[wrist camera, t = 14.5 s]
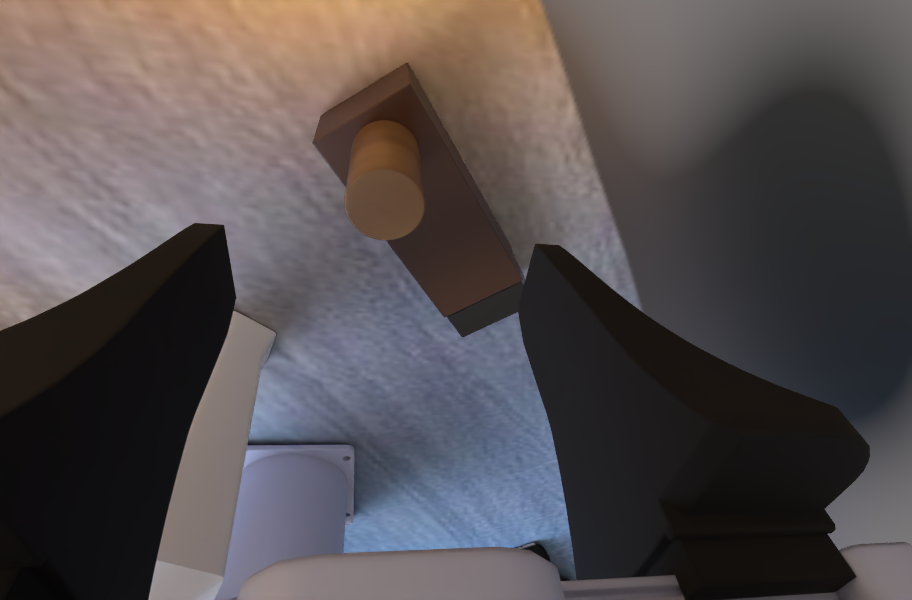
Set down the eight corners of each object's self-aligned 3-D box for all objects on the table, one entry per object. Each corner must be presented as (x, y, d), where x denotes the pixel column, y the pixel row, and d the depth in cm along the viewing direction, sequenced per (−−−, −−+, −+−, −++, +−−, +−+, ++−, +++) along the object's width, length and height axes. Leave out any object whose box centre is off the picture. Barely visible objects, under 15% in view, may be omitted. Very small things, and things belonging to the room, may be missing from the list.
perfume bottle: (280, 307, 25) (189, 656, 14) (285, 368, 28) (212, 703, 16) (182, 302, 25) (-3, 668, 13) (197, 365, 27) (54, 716, 16)
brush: (319, 115, 20) (295, 196, 15) (407, 61, 19) (415, 127, 14) (454, 302, 26) (471, 404, 21) (523, 269, 26) (559, 366, 20)
